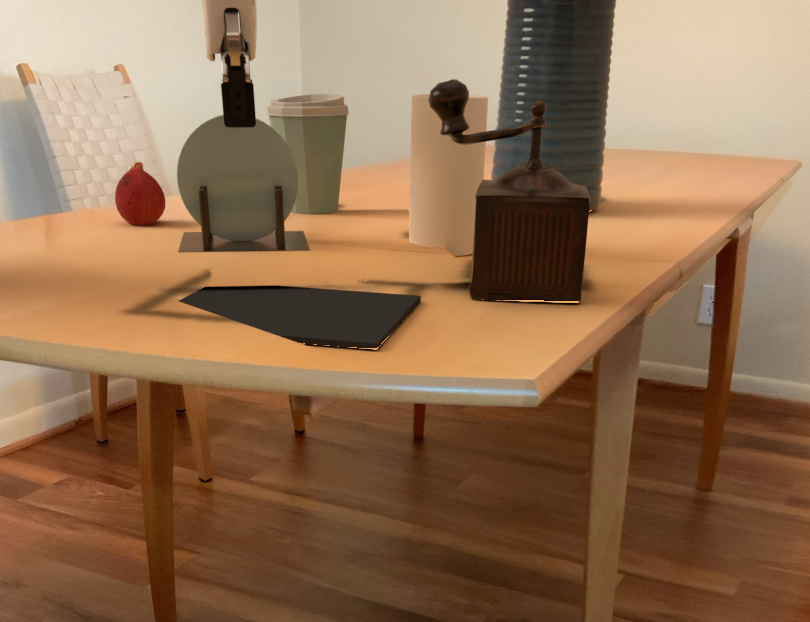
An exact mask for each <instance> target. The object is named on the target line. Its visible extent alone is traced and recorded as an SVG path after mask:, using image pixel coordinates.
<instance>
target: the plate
mask: <svg viewBox="0 0 810 622" xmlns="http://www.w3.org/2000/svg"><path fill="white" fill-rule="evenodd" d="M176 165H177V166H176V180H177V183H176V184H177V187H178V192H179V196H180V198H181V201H182V203H183V205H184V206H185V208H186V210H187V212H188V213H189V215H190V216H191V217H192V219H193V220H194V221H195V222H196V223H197V224H198V225H199V226H200V227H201V216H200V205H199V193H198V190H200V188H199V187H200V186H207V193H208V206H209V218H210V231H211V233H212V234H213V235H216V236H218V237H220V238H223V239H226V240H231V241H241V242H245V241H253V240H257V239H260V238H262V237H265V236H267V235H269V234H270V233H272V232H274V231H275V230H276V210H275V189H274V186H276V185H280V186H282V190H283V203H284V222H286V220H287V219H288V218H289V216H290V215H291V213H292V212H291V211H292V209H293V206H294V204H295V201H296V197H297V192H298V172H297V167H296V163H295V160H294V157H293V155H292V152H291V150H290V149H289V147H288V145H287V143H286V142H285V141H284V139H283V138H282V137H281V136H280V134H279V133H278V132H277V131H276V130H274V129H273V128H272V127H271V125H270V124H268V123H266V122H265V121H263V120H261V119H259V118H257V117H256V125H255V127H237V128H228V127H226V126H225V125H224V116H223V114H220V115H215V116H213V117H211V118H209V119H206V120H205V121H203V122H202V123H200V124H198V126H196V127H195V128H194V130H193V131H192V132H191V133H189V135H188V137H187V138H186V139H185V141H184V144H183V145H182V148H181V150H180V152H179V155H178V160H177V164H176Z"/></svg>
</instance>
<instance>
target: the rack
mask: <svg viewBox="0 0 810 622" xmlns="http://www.w3.org/2000/svg"><path fill="white" fill-rule="evenodd" d="M199 188H200V190H198V193H199V205H200V216H201V226H200V227H201V231H183V233H182V237H181V241H180V244H179V247H178V251H177V252H178V253H228V252H229V253H233V252H234V253H238V252H239V253H240V252H241V253H242V252H243V253H245V252H246V253H247V252H249V253H250V252H310V251H311V249H310V247H309V244H308V240H307V237H306V235H305V232H304V230H286V229H285V221H284V203H283V190H282V186H280V185H276V186H274V189H275V210H276V230H275V231H274V232H272V233H270V234H269V235H267V236H265V237H262V238H260V239H257V240H253V241H245V242H241V241H231V240H226V239H223V238H220V237H218V236H216V235H213V234H212V233H211V231H210V218H209V206H208V193H207V186H200V187H199Z"/></svg>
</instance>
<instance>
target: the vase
mask: <svg viewBox="0 0 810 622" xmlns="http://www.w3.org/2000/svg"><path fill="white" fill-rule="evenodd" d="M616 6H617V0H507V3H506V8H507V10H506V15H505V17H506V20H505V30H504V39H503V49H502V53H503V54H502V59H501V62H502V65H501V69H500V70H501V74H500V83H499V92H498V103H497V105H498V108H497V117H496V125H495V128H494V130H499V129H506V128H515V127H518V126H521V125H525V124H529V123H530V119H531V118H532V117H533V114H532V109H531V107H532V106H533V104H534V102H537V101H542V102H544V104H545V105H546V110H545V113H544V115H543V117H544V119H545V121H546V126H544V127H543V128H542V137H541V151H540V159H541V161H542V164H547V165H550V166H551V167H553V168H554V169H555V170H556V171H558V172H560V173H561V174H562V175H563V176H564V177H566V178H567V179H568V180H569V181H571V182H574V183H585V185H586V187H587V190H588V193H589V196H590V206H589V211H590V210H594V209H595V210H596V209H597V208H598V207H599V206H600V204H601V200H602V191H603V189H602V182H603V178H604V177H603V176H604V171H603V167H604V164H605V154H604V151H605V150H606V140H605V139H606V136H607V130H606V129H607V128H606V125H607V116H608V111H607V110H608V108H609V107H608V106H609V103H608V100H609V91H610V85H609V84H610V82H611V81H610V80H611V77H610V74H611V71H612V69H611V64H612V55H613V49H612V48H613V45H614V41H613V38H614V27H615V22H614V20H615V18H616V13H615V10H616ZM531 138H532V130H530V131H528V132H526V133H524V134H522V135H520V136H516V137H510V138H504V139H498V140H493V146H494V149H493V152H492V167H491V171H490V172H491V173H490V178H491V180H497V179H498V178H499V177H500V176H501V175H502V174H504V173H506V172H508V171H509V170H512V169H513V168H515V167H516V166H518V165H519V164H520V163H528V161H529V159H530V153H531ZM595 210H594V211H595Z"/></svg>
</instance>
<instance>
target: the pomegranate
mask: <svg viewBox="0 0 810 622" xmlns="http://www.w3.org/2000/svg"><path fill="white" fill-rule="evenodd" d="M114 201H115V202H114V203H115V207H116V210H117V212H118V213H119V215H120V217H121V218H122V219H123V220H124V221H125V222H127V223H128V224H129V225H131V226H140V227H141V226H142V227H143V226H144V227H145V226H152V225H154V224H156V223H157V222H158V221H159V220H160V218H162V216H163V215H164V212H165V209H166V196H165V193H164V191H163V188H162V186H161V184H160V183H159V182H158V181H157V180H156V178H154V177H153V176H152V175H151V174H150V173H148V172H147V171H145V170H144V164H143V162H141V161H136V162H134V163H133V165H131V167H130V169H129V170H128V171H126V172H125V173H124V174H123V175H122V177H121V178H120V179H119V180H118V182H117V185H116V187H115V192H114Z"/></svg>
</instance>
